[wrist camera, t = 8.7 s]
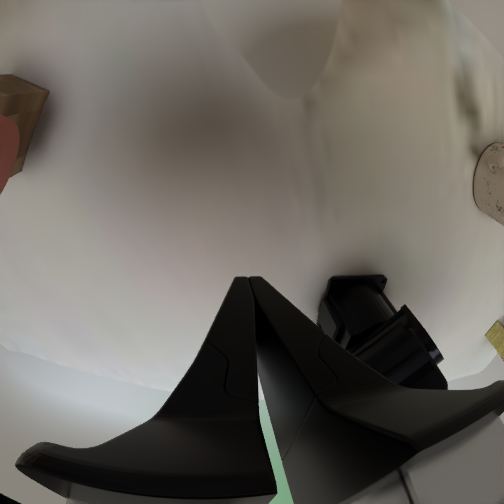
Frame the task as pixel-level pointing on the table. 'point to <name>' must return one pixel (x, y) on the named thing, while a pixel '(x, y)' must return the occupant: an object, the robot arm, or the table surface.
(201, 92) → the table surface
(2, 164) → the plunger
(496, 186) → the teacup with lid
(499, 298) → the table surface
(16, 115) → the sleeve
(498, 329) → the candy box
